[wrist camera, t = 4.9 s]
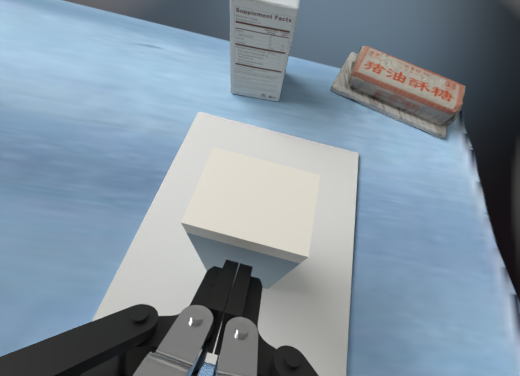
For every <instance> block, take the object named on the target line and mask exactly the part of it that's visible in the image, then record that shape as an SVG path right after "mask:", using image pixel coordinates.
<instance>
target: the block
mask: <svg viewBox="0 0 520 376" xmlns="http://www.w3.org/2000/svg"><path fill="white" fill-rule="evenodd" d="M319 181H320V175H318V174H314V173H311V172H307V171H303V170H299V169H295V168H292V167H288V166H284V165H280V164H276V163H273V162H269V161H265V160H261V159H257V158H254V157H250V156H246V155H242V154H238V153H235V152H231V151H227V150H223V149H219V148H216V147H213V148H212V151H211V153H210V155H209V158H208V160H207V163H206V165H205V167H204V170H203V172H202V174H201V177H200V179H199V181H198V184H197V186H196V188H195V191H194V193H193V195H192V198H191V200H190V202H189V205H188V207H187V209H186V212H185V214H184V216H183V219H182V221H181V224H182V226H183V227H184V229H185V231H186V233H187V235H188V237H189V239H190V241H191V242H192V244H193V246H194V248H195V250H196V252H197V254H198V256H199V257H200V259H201V261H202V263H203V265H204V267H205V269H206V271H207V270H209V269H210V268H212V267H213V266H216V267H220V268H223V266H224V263H225V261H226V259H227V260H231V261H234V262H238V263H239V265H240V263H242V264H245V265H249V266H253V268H252V272H251V276H252V277H256V278H259V279H260V281H261V283H262V286H263V288H266V289H268V288H270V287H271V286H272V285H274V284H275V283H276V282H277V281H279V280H280V279H281V278H282V277H284V276H285V275H286V274H288V273H289V272H290V271H291V270H293V269H294V268H295V267H297V266H298V265H299V264H300V263H302V262H303V261H304V260H305V259H307V258H308V257H309V250H310V243H311V236H312V229H313V223H314V216H315V209H316V202H317V195H318V188H319ZM239 265H238V268H239ZM237 271H238V269H237ZM236 274H237V272H236ZM235 278H236V276H235Z"/></svg>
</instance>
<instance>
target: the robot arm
mask: <svg viewBox="0 0 520 376" xmlns="http://www.w3.org/2000/svg"><path fill="white" fill-rule="evenodd" d="M238 265H239V263H238V262H234V261H231V260H227V259H226V261H225V263H224V266H223V268H220V267H216V266H213V267H212V268H210V269H209V270H207V272H206V274H205V276H204V279H203V280H202V282H201V284H200V286H199V288H198V290H197V292H196V294H195V296H194V298H193V300H192V302H191V304H190V305H189V306H188V307H186V308H185V309H183V310H182V312H181V313H180V314H177V315H173V316H158V312H157V310H156V309H155V308H154V307H152V306H150V305H147V304H138V305H134V306H131V307H128V308H126V309H123V310H121V311H118V312H115V313H113V314H110V315H108V316H105V317H103V318H100V319H97V320H95V321H92V322H90V323H87V324H84V325H82V326H79V327H77V328H74V329H72V330H69V331H66V332H64V333H61V334H59V335H56V336H53V337H51V338H48V339H46V340H43V341H40V342H38V343H35V344H33V345H30V346H28V347H25V348H22V349H20V350H17V351H15V352H12V353H9V354H7V355H4V356H2V357H0V376H199V374H200V371H201V368H202V366H203V364H204V362H205V359H206V356H207V353H211V354H212V353H213V350H214V347H215V344H216V340H217V337H218V340H217V344H216V348H215V352H214V354H215V355H218V357H217V361H216V364H215V368H214V372H213V376H319V375H318V374H317V373H316V371H315V370H314V369H313V367H312V366H311V364H310V363H309V362H308V360H307V359H306V358H305V356H304V355H303V354H302V353H301V352H300V351H299V350H298V349H296V348H294V347H292V346H287V345H284V346H280V347H279V348H277V349H276V348H274V347H273V346H271V345H269V344H268V343H267V342H266V341H264V339H263V338H262V337H261V335H260V334H259V331H258V318H259V310H260V303H261V294H262V288H263V286H262V283H261V281H260V279H259V278H256V277H252V276H251V272H252V268H253V266H249V265H245V264H242V263H240V265H239V268H238ZM237 269H238V271H237ZM236 272H237V274H236ZM235 276H236V278H235ZM234 280H235V281H234ZM221 324H222V325H221ZM220 327H221V329H220ZM219 331H220V333H219ZM218 334H219V336H218Z"/></svg>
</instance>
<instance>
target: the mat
mask: <svg viewBox="0 0 520 376" xmlns="http://www.w3.org/2000/svg"><path fill="white" fill-rule="evenodd" d="M213 147H216V148H219V149H223V150H227V151H231V152H235V153H238V154H242V155H246V156H250V157H254V158H257V159H261V160H265V161H269V162H273V163H276V164H280V165H284V166H288V167H292V168H295V169H299V170H303V171H307V172H311V173H314V174H318V175H320V181H319V188H318V195H317V202H316V209H315V216H314V223H313V229H312V236H311V243H310V250H309V257H308V258H307V259H305V260H304V261H303V262H302V263H300V264H299V265H298V266H297V267H295V268H294V269H293V270H291V271H290V272H289V273H288V274H286V275H285V276H284V277H282V278H281V279H280V280H279V281H277V282H276V283H275V284H274V285H272V286H271V287H270V288H268V289H266V288H262V294H261V303H260V310H259V318H258V331H259V334H260V335H261V337H262V338H263V339H264V341H266V342H267V343H268V344H269V345H271V346H273V347H274V348H276V349H277V348H279V347H280V346H284V345H287V346H292V347H294V348H296V349H298V350H299V351H300V352H301V353H302V354H303V355H304V356H305V358H306V359H307V360H308V362H309V363H310V364H311V366H312V367H313V369H314V370H315V371H316V373H317V374H318V375H319V376H346V366H347V348H348V331H349V313H350V296H351V278H352V261H353V243H354V226H355V208H356V191H357V173H358V155H359V153H357V152H353V151H349V150H345V149H341V148H337V147H333V146H330V145H326V144H322V143H318V142H314V141H310V140H307V139H303V138H299V137H295V136H291V135H287V134H283V133H280V132H276V131H272V130H268V129H264V128H260V127H256V126H253V125H249V124H245V123H241V122H237V121H233V120H230V119H226V118H222V117H218V116H214V115H210V114H206V113H203V112H198V114H197V116H196V118H195V120H194V122H193V124H192V126H191V128H190V130H189V132H188V133H187V135H186V137H185V139H184V141H183V143H182V145H181V147H180V149H179V151H178V153H177V155H176V157H175V159H174V161H173V163H172V165H171V167H170V169H169V171H168V173H167V175H166V177H165V179H164V181H163V183H162V184H161V186H160V188H159V190H158V192H157V194H156V196H155V198H154V200H153V202H152V204H151V206H150V208H149V210H148V212H147V214H146V216H145V218H144V220H143V222H142V224H141V226H140V228H139V230H138V232H137V234H136V235H135V237H134V239H133V241H132V243H131V245H130V247H129V249H128V251H127V253H126V255H125V257H124V259H123V261H122V263H121V265H120V267H119V269H118V271H117V273H116V275H115V277H114V279H113V281H112V283H111V285H110V287H109V288H108V290H107V292H106V294H105V296H104V298H103V300H102V302H101V304H100V306H99V308H98V310H97V312H96V314H95V316H94V318H93V320H92V321H95V320H97V319H100V318H103V317H105V316H108V315H110V314H113V313H115V312H118V311H121V310H123V309H126V308H128V307H131V306H134V305H138V304H147V305H150V306H152V307H154V308H155V309H156V310H157V312H158V316H173V315H177V314H180V313H181V312H182V310H183V309H185V308H186V307H188V306H189V305H190V304H191V302H192V300H193V298H194V296H195V294H196V292H197V290H198V288H199V286H200V284H201V282H202V280H203V279H204V276H205V274H206V272H207V271H206V269H205V267H204V265H203V263H202V261H201V259H200V257H199V256H198V254H197V252H196V250H195V248H194V246H193V244H192V242H191V241H190V239H189V237H188V235H187V233H186V231H185V229H184V227H183V226H182V224H181V221H182V219H183V216H184V214H185V212H186V209H187V207H188V205H189V202H190V200H191V198H192V195H193V193H194V191H195V188H196V186H197V184H198V181H199V179H200V177H201V174H202V172H203V170H204V167H205V165H206V163H207V160H208V158H209V155H210V153H211V151H212V148H213ZM234 281H235V280H234ZM221 325H222V324H221ZM220 329H221V327H220ZM219 333H220V331H219ZM218 336H219V334H218ZM217 340H218V337H217ZM217 340H216V344H217ZM216 344H215V347H214V350H213V353H212V354H211V353H207V356H206V359H205V362H207V363H211V364H214V365H215V364H216V361H217V357H218V355H215V354H214V352H215V348H216Z"/></svg>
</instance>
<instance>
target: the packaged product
mask: <svg viewBox="0 0 520 376" xmlns="http://www.w3.org/2000/svg"><path fill="white" fill-rule="evenodd" d="M465 88H466V87H465V86H464V85H462V84H459V83H457V82H455V81H453V80H450V79H448V78H445V77H442V76H441V75H438V74H435V73H433V72H431V71H428V70H426V69H423V68H421V67H418V66H416V65H413V64H411V63H408V62H405V61H403V60H401V59H398V58H395V57H393V56H390V55H387V54H386V53H383V52H380V51H378V50H376V49H373V48H371V47H367V46H362V47H361V49H360V51H359V53H358V54H355V53H353V52H352V53H351V54H350V55H349V57H348V59H347V60H346V62H345V64H344V66H343V67H342V69H341V70H340V72H339V74H338V76H337V77H336V79H335V81H334V83H333V85H332V87H331V90H330V91H332V92H335V93H337V94H339V95H341V96H344V97H347V98H350V99H354V100H355V101H357V102H358V103H360V104H363V105H365V106H367V107H369V108H371V109H373V110H376V111H378V112H380V113H383V114H385V115H387V116H389V117H391V118H393V119H396V120H398V121H400V122H403V123H406V124H408V125H410V126H413V127H415V128H418V129H421V130H423V131H425V132H427V133H429V134H431V135H433V136H436V137H438V138H441V139H442V138H445V136H446V131H447V125H449V124H451V123H452V122H453V121H455V119H456V118H457V114H458V112H459V111H460V110H461V106H462V105H463V102H462V99H463V96H464V94H465V93H464V91H465Z"/></svg>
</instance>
